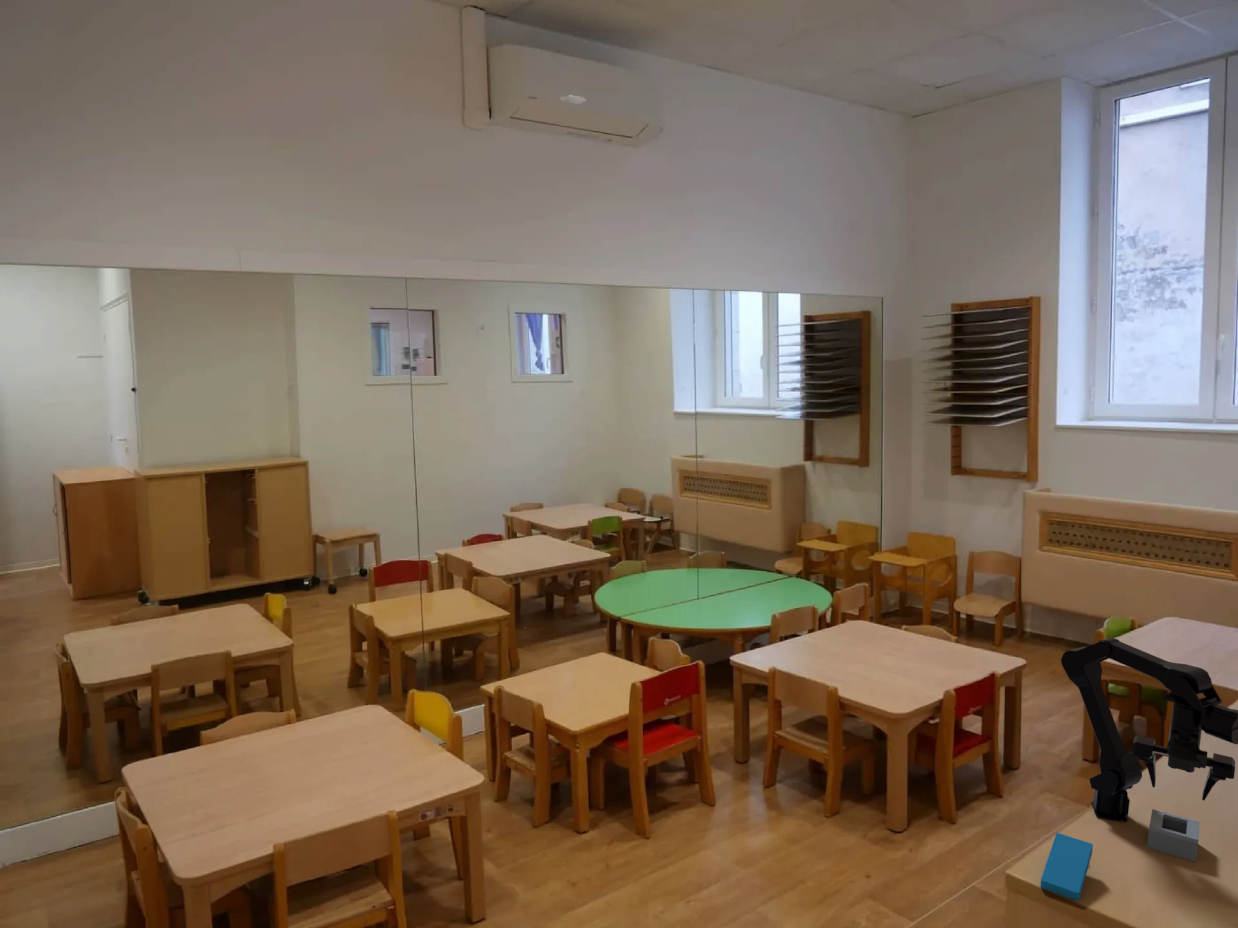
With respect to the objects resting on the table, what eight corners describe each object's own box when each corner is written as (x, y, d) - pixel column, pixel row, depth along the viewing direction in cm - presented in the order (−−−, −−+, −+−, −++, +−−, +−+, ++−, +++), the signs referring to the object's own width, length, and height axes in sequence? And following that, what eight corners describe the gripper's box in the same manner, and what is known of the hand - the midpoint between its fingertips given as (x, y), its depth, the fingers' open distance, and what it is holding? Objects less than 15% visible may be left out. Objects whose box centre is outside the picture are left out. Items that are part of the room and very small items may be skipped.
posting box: (1195, 861, 189) (1198, 839, 188) (1147, 847, 194) (1149, 826, 193) (1197, 842, 196) (1199, 821, 195) (1149, 829, 201) (1152, 808, 200)
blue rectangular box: (1077, 919, 176) (1094, 857, 189) (1078, 893, 173) (1096, 831, 186) (1039, 906, 180) (1059, 846, 193) (1040, 879, 177) (1060, 820, 191)
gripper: (1133, 726, 190) (1125, 794, 192) (1238, 750, 180) (1229, 822, 182) (1137, 709, 199) (1130, 774, 201) (1238, 731, 189) (1229, 800, 191)
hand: (1178, 792), depth 194 cm, fingers open, 9 cm apart
